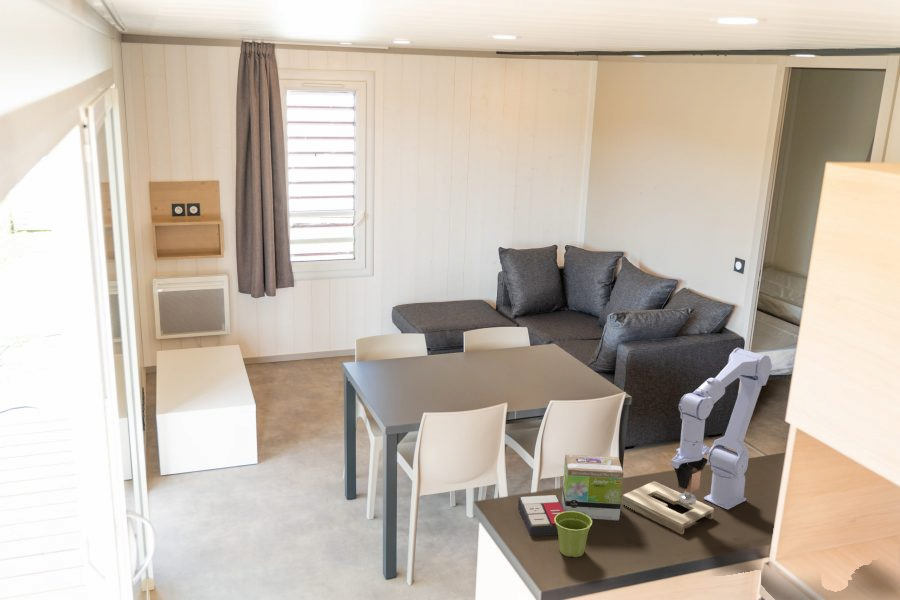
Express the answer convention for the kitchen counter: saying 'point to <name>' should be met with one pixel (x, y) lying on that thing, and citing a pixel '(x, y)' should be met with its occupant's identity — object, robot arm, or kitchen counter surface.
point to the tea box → (593, 486)
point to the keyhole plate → (664, 506)
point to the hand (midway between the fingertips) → (687, 485)
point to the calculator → (540, 514)
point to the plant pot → (572, 532)
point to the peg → (691, 488)
